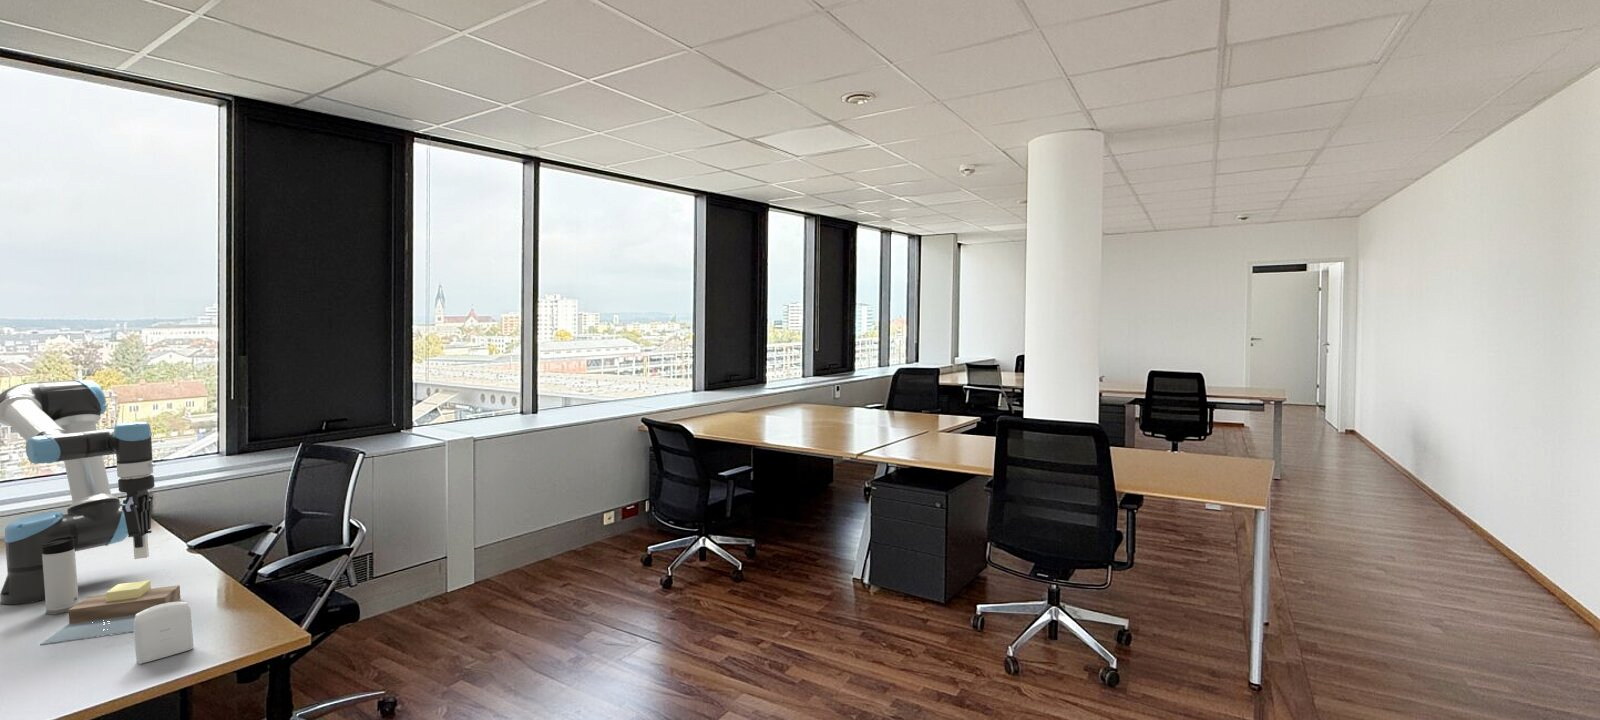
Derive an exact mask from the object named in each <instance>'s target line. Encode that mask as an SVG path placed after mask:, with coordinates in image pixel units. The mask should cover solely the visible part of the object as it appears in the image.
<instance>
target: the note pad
mask: <svg viewBox="0 0 1600 720" xmlns="http://www.w3.org/2000/svg"><path fill="white" fill-rule="evenodd" d="M150 589H152V587H151V580H150V579H148V580H141V581H133V582H124V583H118V584H115V586H113V587H112V588H110V589H108V590H107V591H106V592H105V594H106V602H108V601H116V600H124V599H132V598H139V597H141V596H142V595H143V594H145V593H146V592H147V591H149V590H150Z"/></svg>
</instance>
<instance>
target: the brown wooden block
mask: <svg viewBox="0 0 1600 720" xmlns="http://www.w3.org/2000/svg"><path fill="white" fill-rule="evenodd" d="M179 599H180V600H181V586H180V585H179V584H177V585H170V586H169V585H168V586H163V587H155V588H151V589H150V590H149V591H147V592H146V593H145V594H143V595H142V596H141V597H139V598H132V599H124V600H116V601H108V602H106V593H105V594H98V595H92V596H91V595H90V596H87V597H85V598H83V600H81V601H80V602H79V601H78V602H79V603H78V604H76V605H75V606H73V607H72V608H70V609H69V610H68V612H67V614H68V624H71V623H78V622H86V621H93V620H100V619H108V618H115V617H123V616H130V615H135V614H137V613H139V612H141V611H143V610H145V609H148V608H150V607H153V606H156V605H160V604H164V603H170V602H179V601H180V600H179ZM178 600H179V601H178Z"/></svg>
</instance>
